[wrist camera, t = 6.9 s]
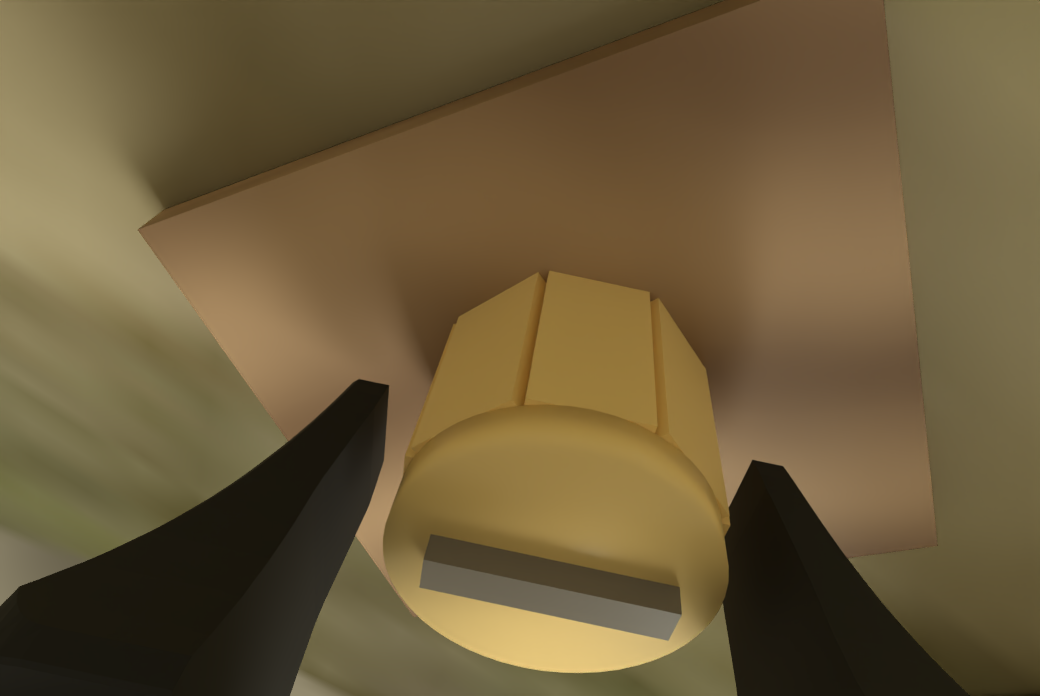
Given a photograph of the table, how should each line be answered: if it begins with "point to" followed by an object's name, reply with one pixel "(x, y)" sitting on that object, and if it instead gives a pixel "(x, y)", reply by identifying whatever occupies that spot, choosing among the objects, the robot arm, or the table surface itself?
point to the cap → (564, 483)
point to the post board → (612, 247)
